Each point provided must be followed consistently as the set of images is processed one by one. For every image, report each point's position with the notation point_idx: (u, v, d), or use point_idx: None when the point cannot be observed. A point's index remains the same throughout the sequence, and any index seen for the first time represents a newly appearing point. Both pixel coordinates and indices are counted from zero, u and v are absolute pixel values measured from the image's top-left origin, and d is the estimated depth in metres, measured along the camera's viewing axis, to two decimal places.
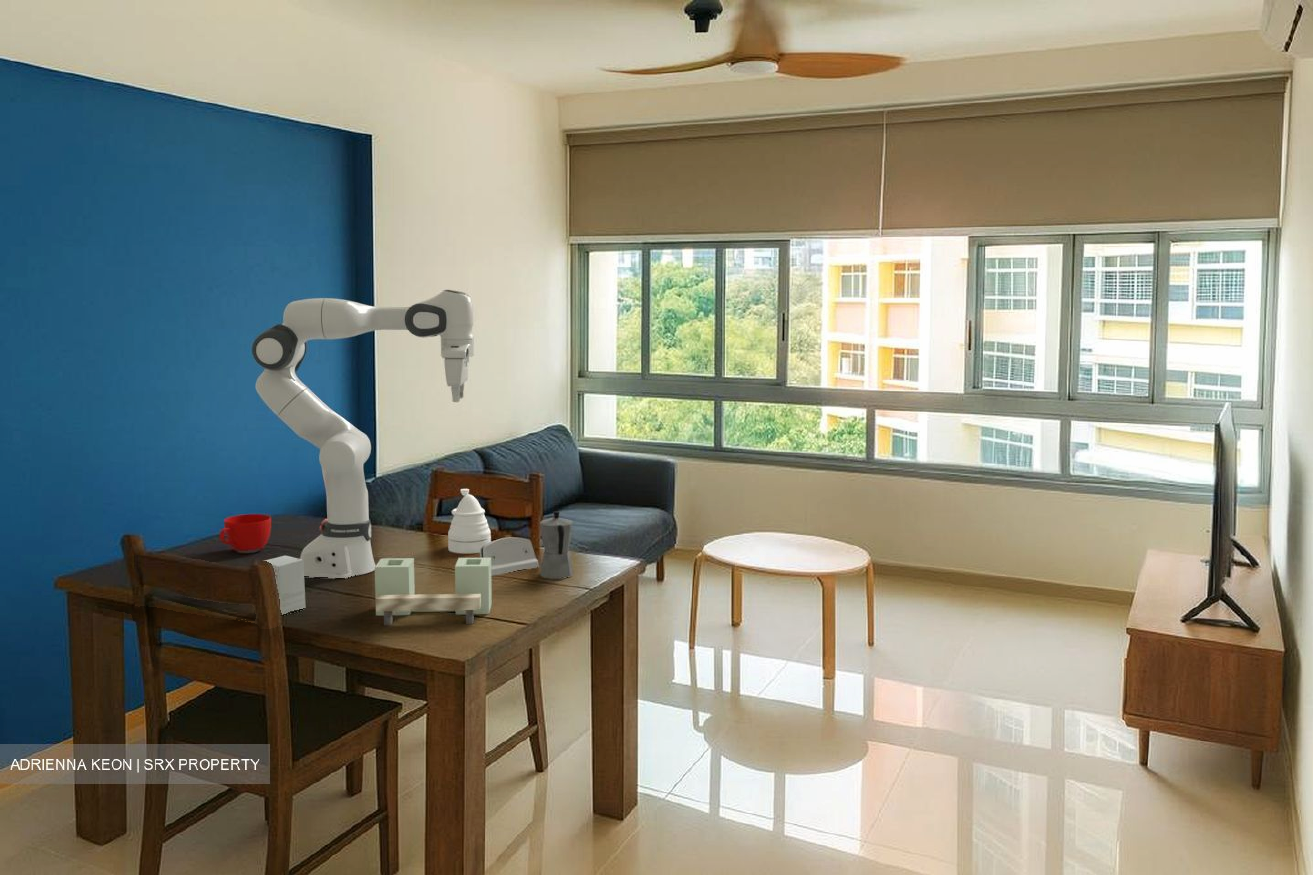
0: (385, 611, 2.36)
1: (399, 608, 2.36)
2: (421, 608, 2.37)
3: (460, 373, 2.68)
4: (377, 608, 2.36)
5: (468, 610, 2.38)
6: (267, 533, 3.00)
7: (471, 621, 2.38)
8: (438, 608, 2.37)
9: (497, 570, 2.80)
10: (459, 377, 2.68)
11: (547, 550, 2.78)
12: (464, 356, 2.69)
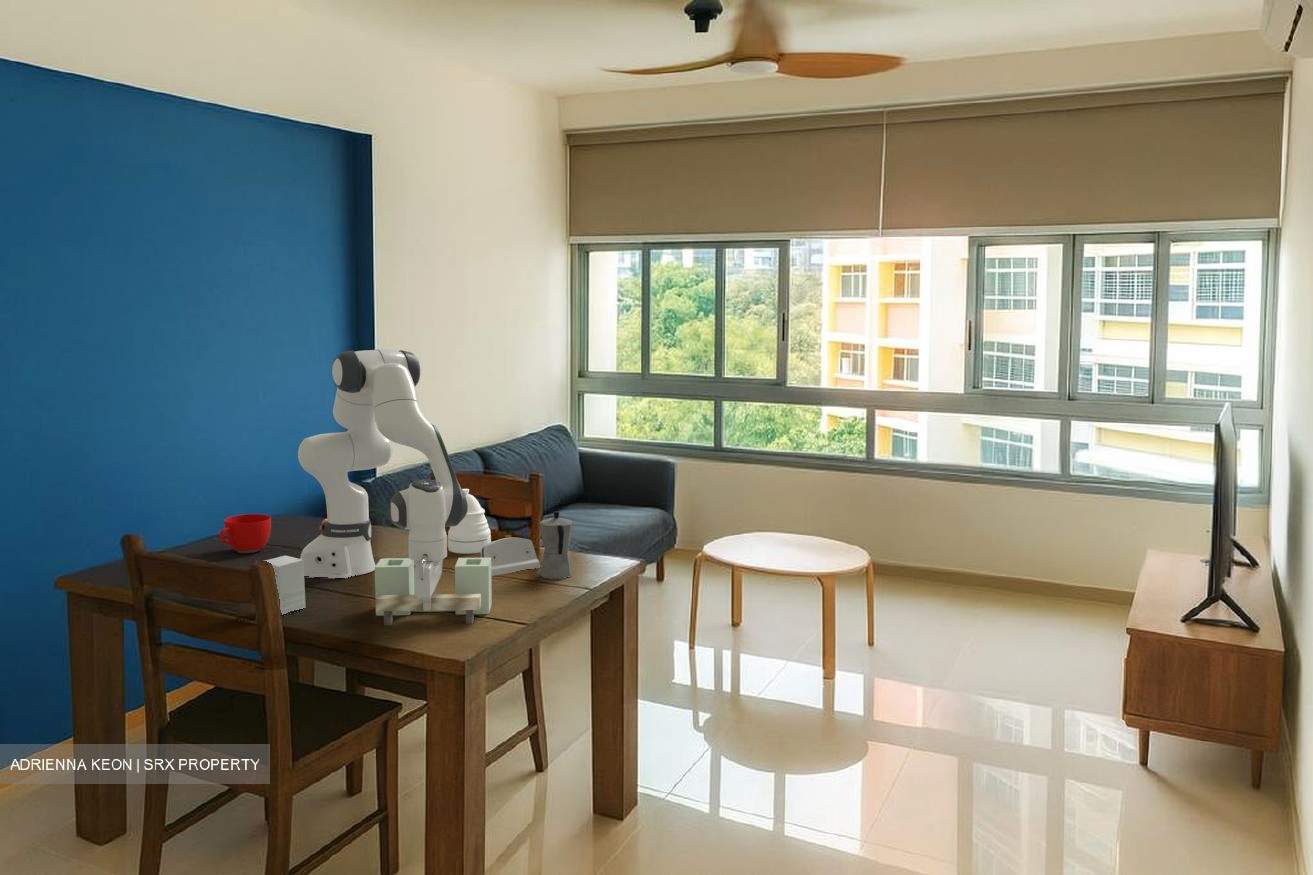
0: (385, 611, 2.36)
1: (399, 608, 2.36)
2: (421, 608, 2.37)
3: None
4: (377, 608, 2.36)
5: (468, 610, 2.38)
6: (267, 533, 3.00)
7: (471, 621, 2.38)
8: (438, 608, 2.37)
9: (497, 570, 2.80)
10: None
11: (547, 550, 2.78)
12: None
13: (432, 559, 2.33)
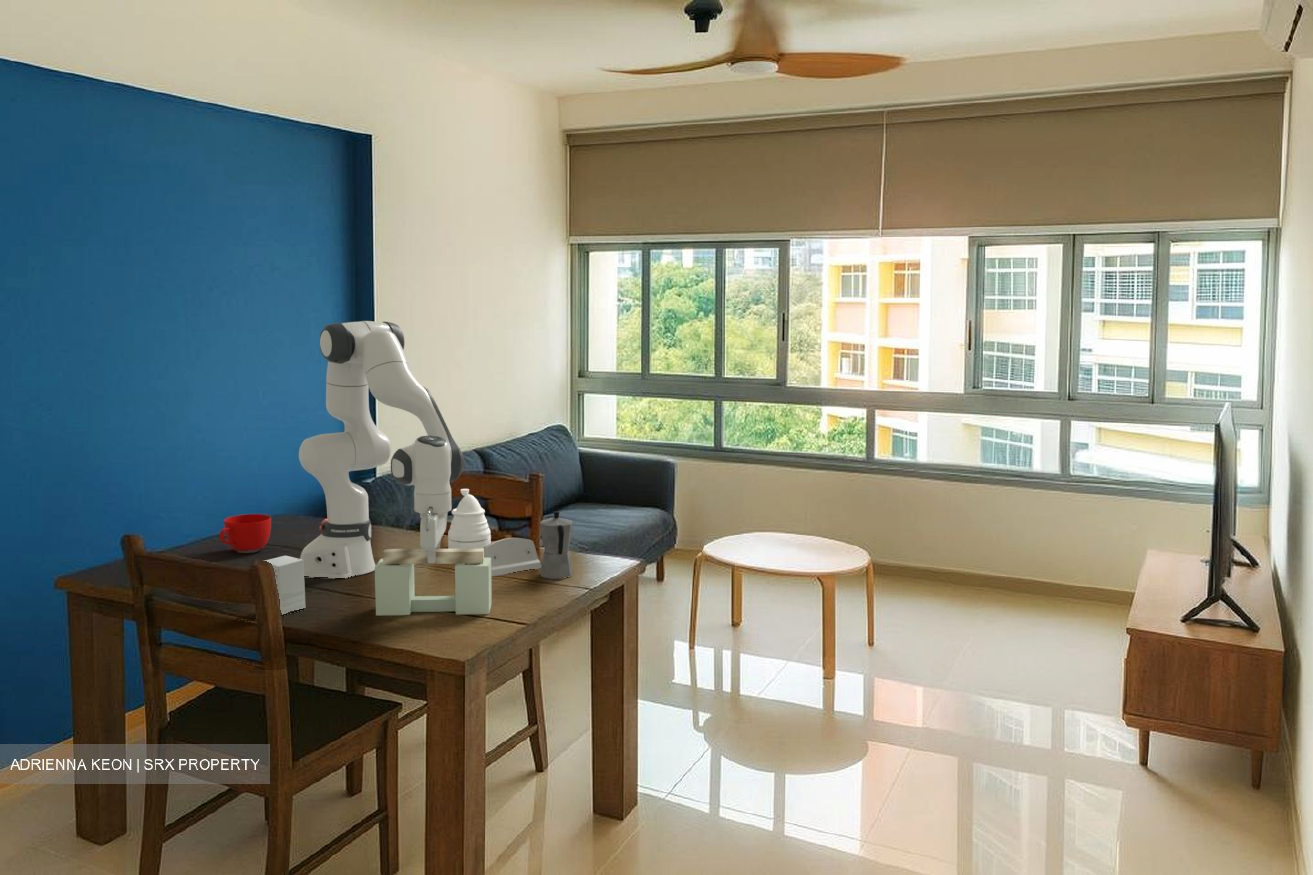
0: (392, 564, 2.45)
1: (405, 561, 2.45)
2: (426, 561, 2.46)
3: None
4: (384, 561, 2.45)
5: (471, 563, 2.47)
6: (267, 533, 3.00)
7: None
8: (443, 561, 2.46)
9: (498, 571, 2.80)
10: None
11: (547, 550, 2.78)
12: None
13: (437, 512, 2.41)
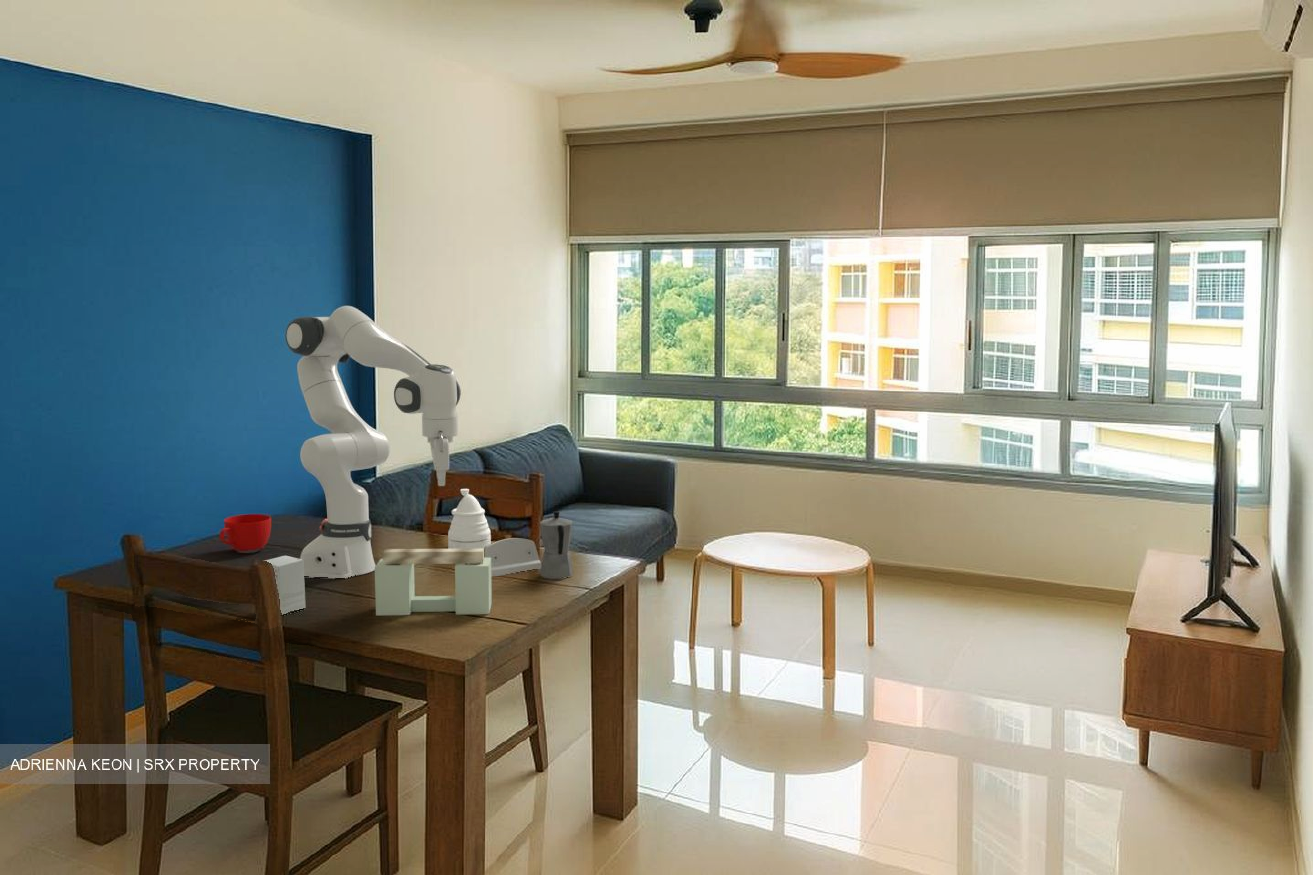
0: (392, 564, 2.45)
1: (405, 561, 2.45)
2: (426, 561, 2.46)
3: None
4: (384, 561, 2.45)
5: (471, 563, 2.47)
6: (267, 533, 3.00)
7: None
8: (443, 561, 2.46)
9: (498, 571, 2.80)
10: None
11: (547, 550, 2.78)
12: None
13: (447, 435, 2.54)
